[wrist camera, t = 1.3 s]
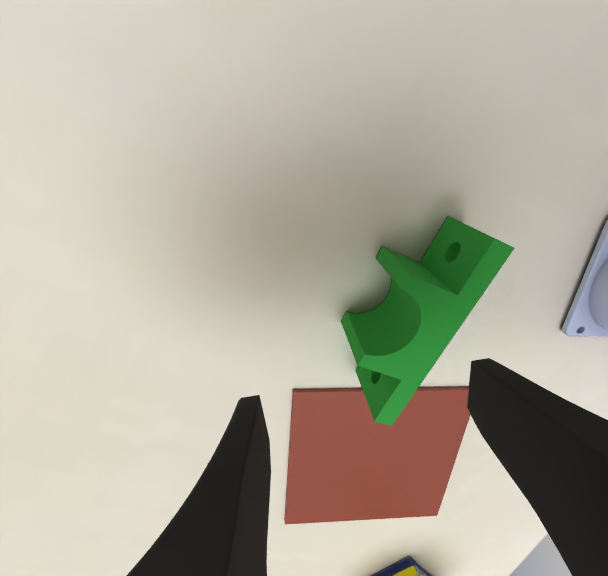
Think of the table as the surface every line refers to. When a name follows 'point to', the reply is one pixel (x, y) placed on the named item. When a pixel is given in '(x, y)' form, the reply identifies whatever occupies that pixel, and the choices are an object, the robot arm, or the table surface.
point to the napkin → (371, 455)
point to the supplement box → (403, 569)
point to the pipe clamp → (420, 313)
